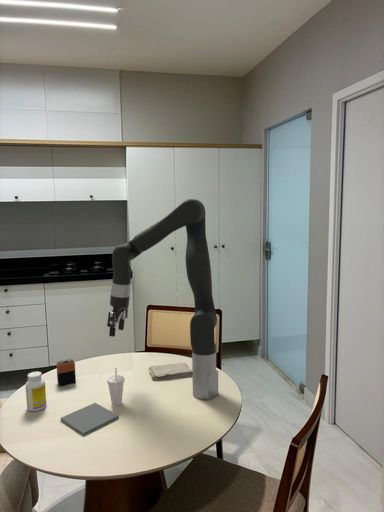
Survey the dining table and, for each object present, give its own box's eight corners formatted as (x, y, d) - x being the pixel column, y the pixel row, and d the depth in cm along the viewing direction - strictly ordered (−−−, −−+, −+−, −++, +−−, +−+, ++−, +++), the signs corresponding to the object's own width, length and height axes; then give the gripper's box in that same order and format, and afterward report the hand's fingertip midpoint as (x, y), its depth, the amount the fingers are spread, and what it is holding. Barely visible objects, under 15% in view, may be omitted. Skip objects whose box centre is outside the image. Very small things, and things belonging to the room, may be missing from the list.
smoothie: (110, 409, 143) (109, 372, 141) (105, 401, 148) (104, 366, 147) (127, 405, 146) (126, 368, 144) (122, 397, 151) (121, 362, 150)
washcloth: (147, 371, 176) (147, 365, 176) (186, 366, 181) (185, 360, 181) (152, 382, 165) (152, 375, 165) (193, 376, 170) (193, 370, 170)
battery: (76, 383, 164) (74, 360, 163) (59, 387, 161) (57, 363, 160) (74, 379, 168) (72, 356, 167) (57, 382, 165) (56, 359, 164)
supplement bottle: (50, 404, 147) (48, 371, 145) (38, 413, 141) (35, 379, 139) (35, 401, 149) (33, 369, 147) (23, 410, 143) (20, 376, 141)
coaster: (118, 418, 137) (118, 415, 136) (83, 435, 126) (83, 433, 126) (95, 405, 146) (95, 402, 146) (60, 420, 136) (60, 417, 135)
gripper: (121, 299, 149) (117, 340, 151) (135, 291, 162) (131, 329, 165) (103, 296, 150) (99, 336, 153) (118, 288, 164) (115, 325, 167)
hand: (116, 332), depth 159 cm, fingers open, 8 cm apart
